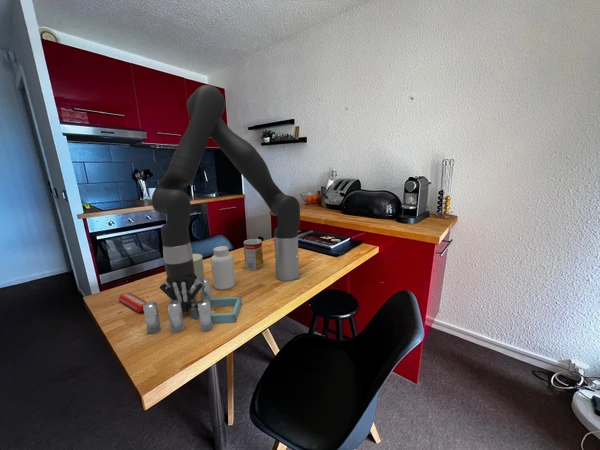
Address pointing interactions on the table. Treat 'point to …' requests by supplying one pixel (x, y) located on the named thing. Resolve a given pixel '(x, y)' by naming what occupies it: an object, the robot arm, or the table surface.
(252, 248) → the canned food
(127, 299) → the candy bar
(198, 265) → the can
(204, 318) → the spacers
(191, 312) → the nut
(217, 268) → the pill bottle
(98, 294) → the table surface
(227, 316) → the corral
